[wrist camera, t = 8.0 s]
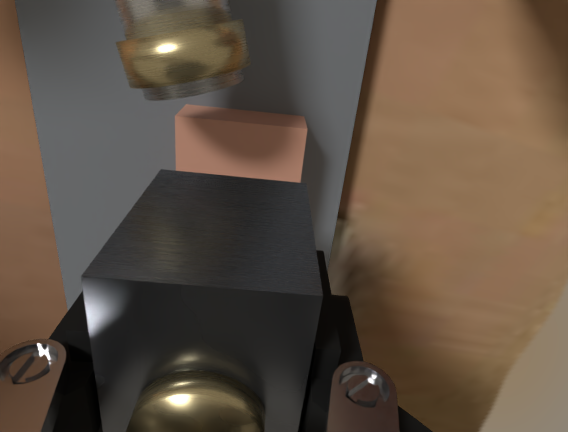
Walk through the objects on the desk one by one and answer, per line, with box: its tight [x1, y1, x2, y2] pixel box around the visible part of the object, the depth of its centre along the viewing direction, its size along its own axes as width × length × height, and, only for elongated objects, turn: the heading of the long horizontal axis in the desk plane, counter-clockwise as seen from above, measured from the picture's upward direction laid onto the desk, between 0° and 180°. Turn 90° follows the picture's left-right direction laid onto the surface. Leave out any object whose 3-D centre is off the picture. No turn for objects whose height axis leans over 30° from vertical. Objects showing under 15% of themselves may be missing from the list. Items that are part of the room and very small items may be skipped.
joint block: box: [81, 169, 323, 432], centre depth 10 cm, size 4×6×6 cm, turn 174°
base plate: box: [15, 0, 377, 311], centre depth 18 cm, size 13×36×3 cm, turn 174°
